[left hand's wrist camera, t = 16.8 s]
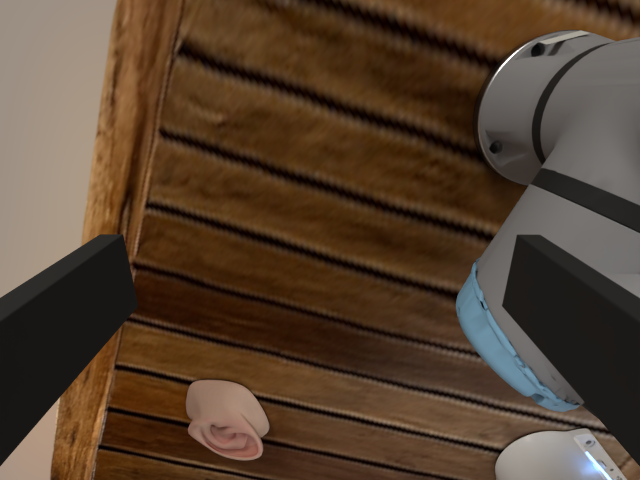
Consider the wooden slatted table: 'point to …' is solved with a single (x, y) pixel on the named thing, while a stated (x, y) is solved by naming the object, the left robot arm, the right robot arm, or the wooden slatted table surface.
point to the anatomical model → (226, 419)
